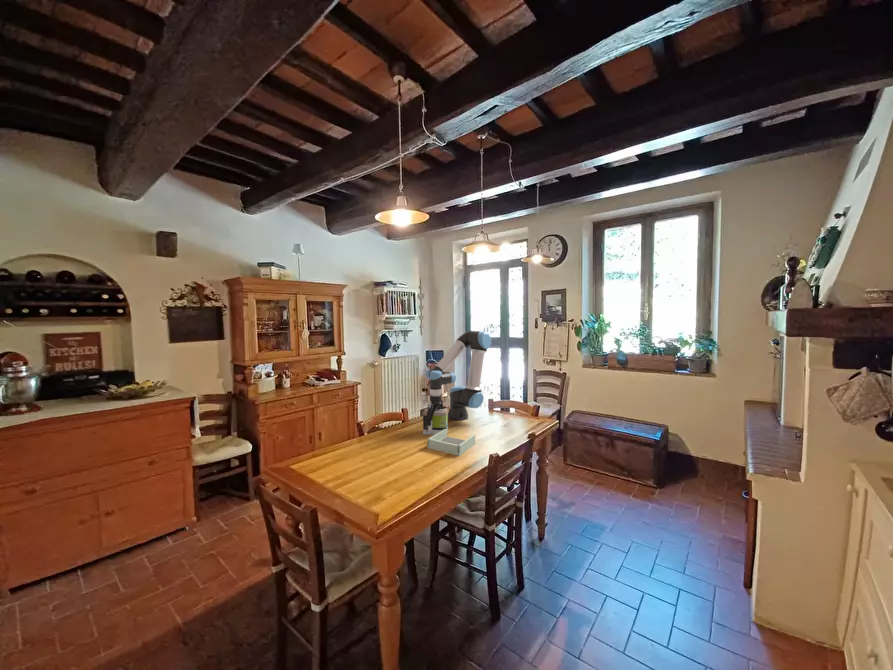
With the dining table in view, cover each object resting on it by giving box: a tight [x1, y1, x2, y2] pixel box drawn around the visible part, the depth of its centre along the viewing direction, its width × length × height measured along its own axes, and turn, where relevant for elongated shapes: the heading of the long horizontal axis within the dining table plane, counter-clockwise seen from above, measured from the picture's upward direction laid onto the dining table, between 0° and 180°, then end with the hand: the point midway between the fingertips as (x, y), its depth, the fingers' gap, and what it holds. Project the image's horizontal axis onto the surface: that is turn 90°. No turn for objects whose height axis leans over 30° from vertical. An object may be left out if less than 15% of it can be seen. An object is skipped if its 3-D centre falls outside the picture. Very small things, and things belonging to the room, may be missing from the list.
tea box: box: [422, 408, 449, 436], centre depth 236 cm, size 15×10×15 cm
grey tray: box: [427, 429, 476, 457], centre depth 214 cm, size 20×21×6 cm
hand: (435, 427), depth 236 cm, fingers closed on tea box, 12 cm apart
